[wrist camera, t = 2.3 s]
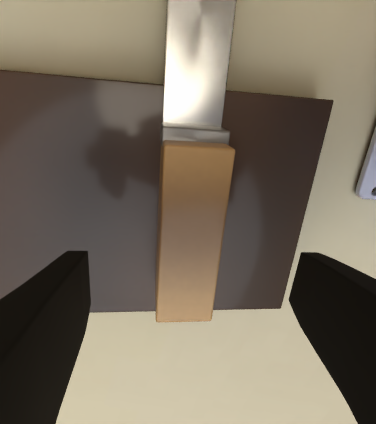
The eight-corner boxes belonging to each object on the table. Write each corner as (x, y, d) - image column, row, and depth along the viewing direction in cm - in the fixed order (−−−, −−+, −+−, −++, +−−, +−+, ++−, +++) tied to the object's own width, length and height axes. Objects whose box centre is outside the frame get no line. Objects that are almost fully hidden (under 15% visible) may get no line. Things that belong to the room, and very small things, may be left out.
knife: (202, 282, 16) (212, 321, 13) (154, 282, 16) (154, 323, 13) (258, -191, 9) (304, -316, 6) (174, -210, 9) (185, -352, 6)
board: (316, 99, 14) (334, 100, 13) (271, 293, 19) (281, 308, 17) (-167, 56, 11) (-212, 50, 10) (-83, 297, 16) (-106, 316, 14)
